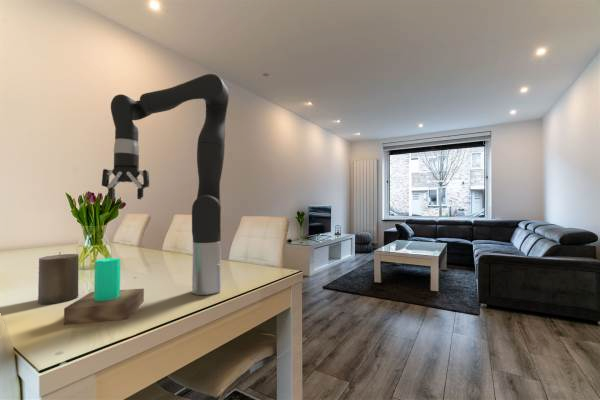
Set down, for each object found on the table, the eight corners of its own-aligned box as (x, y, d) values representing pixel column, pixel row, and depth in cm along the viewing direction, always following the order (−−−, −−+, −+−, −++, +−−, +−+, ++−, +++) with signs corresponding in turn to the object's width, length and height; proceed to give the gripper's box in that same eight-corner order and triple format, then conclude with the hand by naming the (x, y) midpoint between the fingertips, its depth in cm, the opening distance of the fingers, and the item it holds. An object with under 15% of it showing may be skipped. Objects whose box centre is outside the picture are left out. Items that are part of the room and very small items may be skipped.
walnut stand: (143, 301, 85) (143, 288, 86) (127, 319, 72) (127, 303, 72) (91, 305, 82) (91, 291, 82) (63, 324, 68) (64, 308, 69)
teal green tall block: (107, 301, 74) (108, 256, 74) (88, 300, 75) (89, 255, 75) (125, 294, 79) (125, 252, 80) (107, 293, 80) (108, 252, 81)
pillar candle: (84, 297, 90) (85, 250, 91) (47, 306, 81) (48, 255, 82) (68, 293, 94) (69, 249, 95) (30, 302, 85) (32, 253, 86)
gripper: (151, 156, 103) (151, 199, 103) (108, 154, 100) (107, 199, 99) (145, 152, 96) (144, 199, 96) (98, 150, 93) (97, 198, 92)
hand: (125, 199), depth 98 cm, fingers open, 8 cm apart
